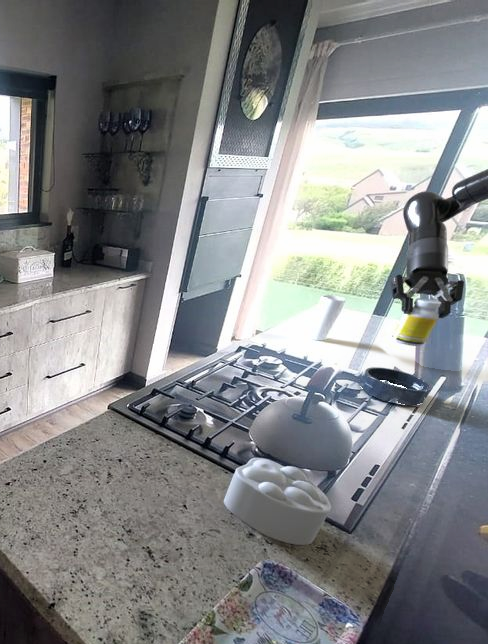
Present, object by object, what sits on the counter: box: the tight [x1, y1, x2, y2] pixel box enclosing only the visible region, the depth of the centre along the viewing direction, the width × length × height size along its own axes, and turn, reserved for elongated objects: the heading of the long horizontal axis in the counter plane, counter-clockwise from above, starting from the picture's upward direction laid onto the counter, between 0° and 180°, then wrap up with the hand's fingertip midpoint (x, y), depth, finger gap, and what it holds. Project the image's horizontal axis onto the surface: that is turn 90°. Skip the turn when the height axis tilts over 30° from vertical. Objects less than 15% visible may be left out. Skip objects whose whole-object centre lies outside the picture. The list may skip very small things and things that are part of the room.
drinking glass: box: [307, 294, 346, 342], centre depth 141 cm, size 7×7×15 cm
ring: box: [358, 366, 433, 406], centre depth 108 cm, size 13×13×5 cm
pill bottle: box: [391, 297, 441, 347], centre depth 106 cm, size 6×6×12 cm
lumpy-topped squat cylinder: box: [223, 457, 332, 546], centre depth 68 cm, size 10×13×9 cm
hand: (425, 314), depth 104 cm, fingers closed on pill bottle, 6 cm apart
